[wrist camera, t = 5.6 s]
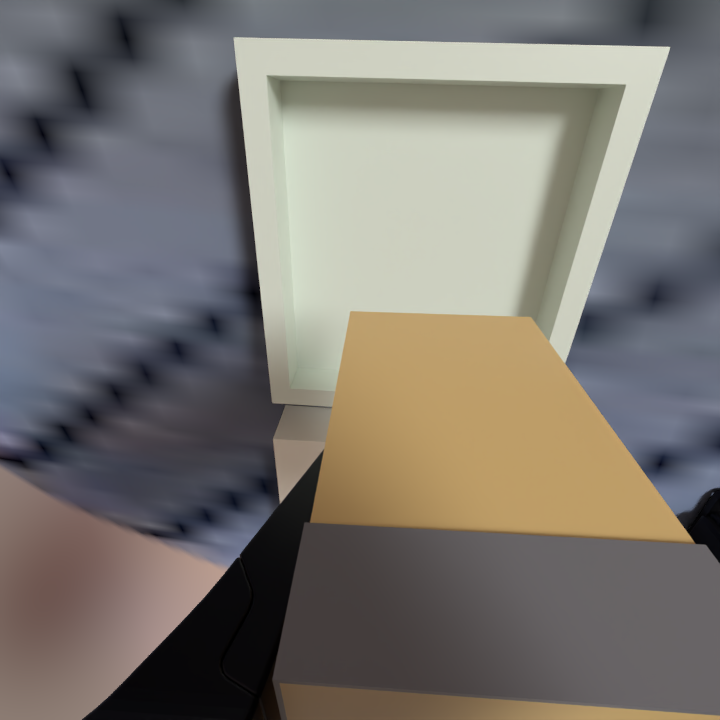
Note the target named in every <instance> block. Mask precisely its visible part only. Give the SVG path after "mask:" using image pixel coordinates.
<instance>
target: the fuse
mask: <svg viewBox="0 0 720 720" xmlns="http://www.w3.org/2000/svg"><path fill="white" fill-rule="evenodd" d="M272 680H273V685H274V689H275V694H276V698H277V702H278V707H279V711H280V716H281V720H720V563H719V562H718V561H717V559H716V558H715V557H714V555H713V554H712V553H711V551H710V550H709V549H708V547H707V546H706V545H701V544H695V542H694V541H693V539H692V538H691V537H690V535H689V534H688V533H687V531H686V530H685V528H684V527H683V526H682V524H681V523H680V521H679V520H678V519H677V517H676V516H675V515H674V513H673V512H672V510H671V509H670V508H669V506H668V505H667V504H666V502H665V501H664V499H663V498H662V497H661V495H660V494H659V493H658V491H657V490H656V488H655V487H654V486H653V484H652V483H651V482H650V480H649V479H648V477H647V476H646V475H645V473H644V472H643V471H642V469H641V468H640V466H639V465H638V464H637V462H636V461H635V460H634V458H633V457H632V455H631V454H630V453H629V451H628V450H627V449H626V447H625V446H624V444H623V443H622V442H621V440H620V439H619V437H618V436H617V435H616V433H615V432H614V431H613V429H612V428H611V426H610V425H609V424H608V422H607V421H606V420H605V418H604V417H603V415H602V414H601V413H600V411H599V410H598V409H597V407H596V406H595V404H594V403H593V402H592V400H591V399H590V398H589V396H588V395H587V393H586V392H585V391H584V389H583V388H582V387H581V385H580V384H579V382H578V381H577V380H576V378H575V377H574V376H573V374H572V373H571V371H570V370H569V369H568V367H567V366H566V364H565V363H564V362H563V360H562V359H561V358H560V356H559V355H558V353H557V352H556V351H555V349H554V348H553V347H552V345H551V344H550V342H549V341H548V340H547V338H546V337H545V336H544V334H543V333H542V331H541V330H540V329H539V327H538V326H537V325H536V323H535V322H534V320H533V319H532V318H531V317H518V316H486V315H455V314H424V313H393V312H361V311H350V316H349V321H348V327H347V332H346V337H345V342H344V348H343V353H342V358H341V363H340V369H339V374H338V379H337V384H336V389H335V395H334V400H333V405H332V410H331V416H330V421H329V426H328V431H327V437H326V442H325V447H324V452H323V458H322V463H321V468H320V473H319V479H318V484H317V489H316V494H315V499H314V505H313V510H312V515H311V520H310V523H307V522H305V523H304V528H303V532H302V537H301V542H300V547H299V552H298V557H297V562H296V567H295V571H294V576H293V581H292V586H291V591H290V596H289V601H288V606H287V611H286V615H285V620H284V625H283V630H282V635H281V640H280V645H279V650H278V655H277V659H276V664H275V669H274V674H273V679H272Z"/></svg>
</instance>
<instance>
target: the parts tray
mask: <svg viewBox="0 0 720 720" xmlns="http://www.w3.org/2000/svg"><path fill="white" fill-rule="evenodd" d="M234 45H235V55H236V64H237V74H238V83H239V93H240V102H241V112H242V121H243V131H244V141H245V150H246V160H247V169H248V179H249V188H250V198H251V207H252V217H253V226H254V236H255V245H256V255H257V264H258V274H259V283H260V293H261V302H262V312H263V321H264V331H265V340H266V350H267V359H268V369H269V378H270V388H271V397H272V403H277V404H294V405H310V406H326V407H332V405H333V400H334V395H335V389H336V384H337V379H338V374H339V369H340V363H341V358H342V353H343V348H344V342H345V337H346V332H347V327H348V321H349V316H350V311H361V312H393V313H424V314H455V315H486V316H518V317H531V318H532V319H533V320H534V322H535V323H536V325H537V326H538V327H539V329H540V330H541V331H542V333H543V334H544V336H545V337H546V338H547V340H548V341H549V342H550V344H551V345H552V347H553V348H554V349H555V351H556V352H557V353H558V355H559V356H560V358H561V359H562V360H563V362H564V363H565V362H566V359H567V356H568V353H569V350H570V347H571V344H572V341H573V338H574V335H575V332H576V329H577V326H578V323H579V320H580V317H581V314H582V311H583V308H584V305H585V302H586V299H587V296H588V293H589V290H590V287H591V284H592V281H593V278H594V275H595V272H596V269H597V266H598V263H599V260H600V257H601V254H602V251H603V248H604V245H605V242H606V239H607V236H608V233H609V230H610V227H611V224H612V221H613V218H614V215H615V212H616V209H617V206H618V203H619V200H620V197H621V194H622V191H623V188H624V185H625V182H626V179H627V176H628V173H629V170H630V167H631V164H632V161H633V158H634V155H635V152H636V149H637V146H638V143H639V140H640V137H641V134H642V131H643V128H644V125H645V122H646V119H647V116H648V113H649V110H650V107H651V104H652V101H653V98H654V95H655V92H656V89H657V86H658V83H659V80H660V77H661V74H662V71H663V68H664V65H665V62H666V59H667V56H668V53H669V50H670V47H647V46H601V45H555V44H509V43H463V42H418V41H372V40H326V39H280V38H234Z"/></svg>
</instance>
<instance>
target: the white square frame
mask: <svg viewBox="0 0 720 720" xmlns="http://www.w3.org/2000/svg"><path fill="white" fill-rule="evenodd" d="M331 410H332V408H325V407H309V406H292V405H285V408H284V411H283V413H282V416H281V419H280V421H279V424H278V427H277V429H276V432H275V435H274V437H273V444H274V453H275V462H276V471H277V480H278V490H279V499H280V503H281V502H282V501H283V500H284V498H285V497H286V496H287V495H288V493H289V492H290V491H291V490H292V488H293V487H294V486H295V485H296V483H297V482H298V481H299V480H300V478H301V477H302V476H303V475H304V473H305V472H306V471H307V469H308V468H309V467H310V466H311V464H312V463H313V462H314V461H315V459H316V458H317V457H318V456H319V454H320V453H321V452H322V451H323V449H324V447H325V442H326V437H327V431H328V426H329V421H330V416H331Z"/></svg>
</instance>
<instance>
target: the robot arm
mask: <svg viewBox="0 0 720 720" xmlns="http://www.w3.org/2000/svg"><path fill="white" fill-rule="evenodd" d="M323 452H324V449H323V451H322V452H321V453H320V454H319V456H318V457H317V458H316V459H315V461H314V462H313V463H312V464H311V466H310V467H309V468H308V469H307V471H306V472H305V473H304V475H303V476H302V477H301V478H300V480H299V481H298V482H297V483H296V485H295V486H294V487H293V488H292V490H291V491H290V492H289V493H288V495H287V496H286V497H285V498H284V500H283V501H282V502H281V503H280V505H279V506H278V507H277V508H276V510H275V511H274V512H273V514H272V515H271V516H270V517H269V519H268V520H267V521H266V522H265V524H264V525H263V526H262V527H261V529H260V530H259V531H258V532H257V534H256V535H255V536H254V537H253V539H252V540H251V541H250V542H249V544H248V545H247V546H246V547H245V549H244V550H243V551H242V552H241V554H240V558H236V560H235V561H234V562H233V564H232V565H231V566H230V567H229V569H228V570H227V571H226V572H225V574H224V575H223V576H222V577H221V579H220V580H219V581H218V582H217V583H216V584H215V586H214V587H213V588H212V589H211V590H210V592H209V593H208V594H207V595H206V596H205V597H204V598H203V600H202V601H201V602H200V603H199V604H198V605H197V606H196V607H195V608H194V609H193V610H192V611H191V612H190V614H189V615H188V616H187V617H186V618H185V619H184V620H183V621H182V622H181V623H180V624H179V625H178V626H177V627H176V628H175V629H174V630H173V631H172V633H170V634H169V636H168V637H167V638H166V639H165V640H164V641H163V642H162V643H161V644H160V645H159V646H158V647H157V648H156V649H155V650H154V651H153V652H152V653H151V654H150V655H149V656H148V657H147V658H146V659H145V660H144V661H143V662H142V663H141V664H140V665H139V666H138V667H137V669H136V670H135V671H134V672H133V673H132V674H131V675H130V676H129V677H128V678H127V679H126V680H125V681H124V682H123V683H122V684H121V685H120V686H119V687H118V688H117V689H116V690H115V691H114V692H113V693H112V694H111V695H110V696H109V697H108V698H107V699H106V700H105V701H103V702H102V703H101V704H100V705H99V706H98V707H97V708H96V709H94V710H93V711H92V712H91V713H89V714H88V715H87V716H86V717H84V718H83V719H82V720H281V716H280V711H279V707H278V702H277V698H276V694H275V689H274V685H273V680H272V679H273V674H274V669H275V664H276V659H277V655H278V650H279V645H280V640H281V635H282V630H283V625H284V620H285V615H286V611H287V606H288V601H289V596H290V591H291V586H292V581H293V576H294V571H295V567H296V562H297V557H298V552H299V547H300V542H301V537H302V532H303V528H304V523H305V522H307V523H310V520H311V515H312V510H313V505H314V499H315V494H316V489H317V484H318V479H319V473H320V468H321V463H322V458H323ZM687 533H688V534H689V535H690V537H691V538H692V539H693V541H694V542H695V544H701V545H706V546H707V547H708V549H709V550H710V551H711V553H712V554H713V555H714V557H715V558H716V559H717V561H718V562H719V563H720V490H718V491H716V492H715V493H714V494H713V495H712V497H711V498H710V500H709V501H708V503H707V504H706V506H705V507H704V509H703V510H702V512H701V513H700V514H699V516H698V517H697V519H696V520H695V522H694V523H693V525H692V526H691V528H690V529H689V531H688V532H687Z"/></svg>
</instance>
